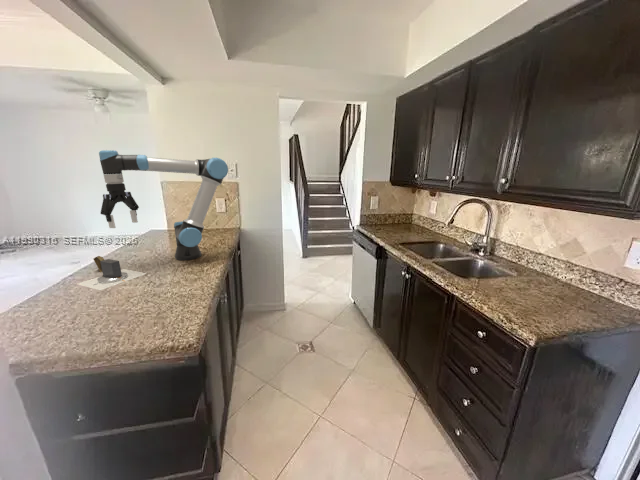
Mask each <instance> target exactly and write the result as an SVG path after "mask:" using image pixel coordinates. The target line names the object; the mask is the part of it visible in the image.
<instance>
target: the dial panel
mask: <svg viewBox="0 0 640 480" xmlns="http://www.w3.org/2000/svg"><path fill="white" fill-rule="evenodd" d="M121 272H126V273H127V274H128V277H127V278H125V279H123V280H120V281H117V282H112V283H99V282H98V281H97V279H98V278H99V277H100V276H97V277H94V278H92V279H88V280H84V281H81V282H77V283H76V285H78V286H82V287H85V288H90V289H93V290H97V291H102V290H105V289H108V288H110V287H115V286H116V285H119V284H122V283H125V282H128V281H131V280H133V279H136V278H139V277H141V276H144V275H147V273H146V272H140V271H135V270H131V269H125V268H123V269H122V268H121Z"/></svg>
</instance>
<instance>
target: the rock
mask: <svg viewBox="0 0 640 480" xmlns="http://www.w3.org/2000/svg"><path fill="white" fill-rule="evenodd" d="M103 260H105V259H104V258H103V256H100V255H98V256H95V257H94V258H93V261H94V262H95V263H94V264H95V265H96V266H97V268H98V270H99V272H100V273H103V272H102V267H101V262H100V261H103Z"/></svg>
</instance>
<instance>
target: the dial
mask: <svg viewBox="0 0 640 480" xmlns="http://www.w3.org/2000/svg"><path fill="white" fill-rule="evenodd" d="M100 262H101V267H102V272H101V273H102V275H101V276H98V277H99V278H98V279H97V281H98V282H99V283H112V282H117V281H120V280H123V279H125V278H127V277H128V274H127V273H126V272H121V270H122V268H121V263H120V261H119V260H116V259H110V258H107V259H104V260H103V261H100Z"/></svg>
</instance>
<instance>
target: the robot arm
mask: <svg viewBox="0 0 640 480" xmlns="http://www.w3.org/2000/svg"><path fill="white" fill-rule="evenodd" d="M98 156H99V162H100V165H101V166H100V167H101V170H102V174H103V179H104V182H105V188H106V191H107V194H105V193H103V194H102V198H103V199H102V202H101V209H100V215H103V216H105V220H106V222H108V228H109V229H116V223H115V219H114V214H112V213H113V211H114V208H115V206H116V204H118V203H124V204H125V206H126V207H128V209H130V210H129V213H130V218H131V222H132V223H134V224H135V223H138V222H139V221H138V213H137V211H138V209H140V207H139V205H138V203H137V202H136V200H135V198H134V197H133V196H132V193H131V191H127V190H126V185H125V183H124V182H125V181H124V176H123V171H124V172H125V171H135V172H136V171H138V172H139V171H141V172H161V173H176V174H177V173H178V174H191V175H192V174H193V175H196V177H197V176H200V178H201V180H202V181H201V183H200V185H199V188H198V191H197V193H196V195H195V199H194V201H193V203H192V206H191V208H190V211H189V214H188V216H187V218H186V219H184V220H183V221H176V222H174V224H173V228H174V235H175V243H176V250H175V253H174V259H175V260H176V261H177V260H178V261H189V260H194V259H198V258H200V257H202V251H201V249H200V247H199V244H200V243H201V242H202V239H203V237H202V236H203V235H202V233H203V231H204V229H205V226H204V224H203V223H204V221H205V218H206V216H207V213H208V210H209V208H210V206H211V203H212V200H213V198H214V196H215V192H216V190H217V187H219V186H221V185H222V183H223V181H224V179H225V178H226V177H227V175H228V174H229V166H228V164H227V162H226V161H225V160H224V159H222V158H219V157H212V158H208V159H206V158H204V159H195V160H187V159H175V158H173V159H172V158H162V157H151V156H149V157H148V156H147V155H146V154H119V153H118V151H117V150H114V149H113V150H112V149H111V150H107V149H106V150H104V149H103V150H99V152H98Z"/></svg>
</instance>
